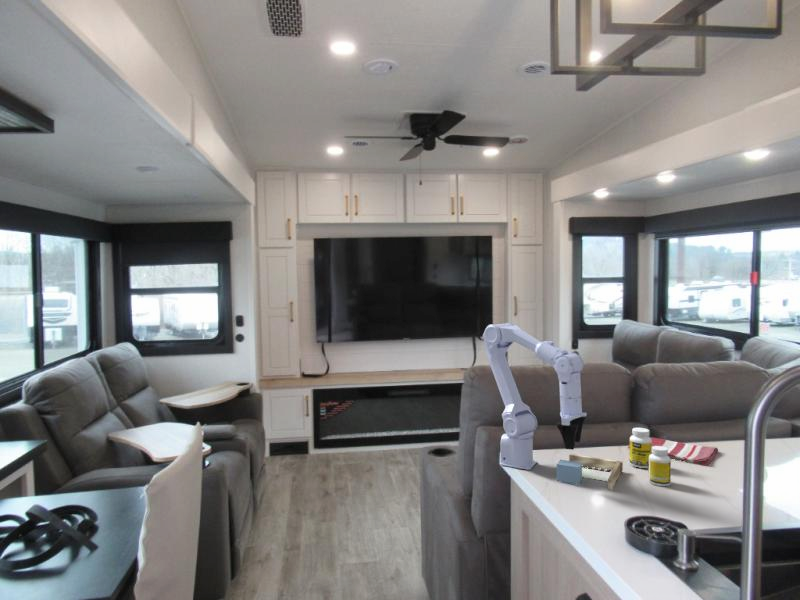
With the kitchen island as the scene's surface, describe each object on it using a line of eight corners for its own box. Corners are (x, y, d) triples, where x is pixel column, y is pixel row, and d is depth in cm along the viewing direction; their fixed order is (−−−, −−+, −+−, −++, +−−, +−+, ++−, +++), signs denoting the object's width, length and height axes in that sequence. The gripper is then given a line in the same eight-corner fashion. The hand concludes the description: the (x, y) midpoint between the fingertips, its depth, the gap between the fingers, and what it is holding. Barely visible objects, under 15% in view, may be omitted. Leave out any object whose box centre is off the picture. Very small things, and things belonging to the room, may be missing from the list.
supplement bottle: (673, 487, 138) (673, 451, 137) (651, 486, 139) (651, 450, 138) (667, 479, 143) (667, 445, 143) (646, 478, 144) (646, 444, 144)
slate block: (556, 481, 143) (556, 463, 143) (560, 476, 147) (560, 459, 147) (578, 485, 140) (578, 467, 140) (582, 480, 144) (581, 463, 144)
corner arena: (556, 480, 143) (556, 470, 143) (570, 463, 157) (570, 453, 157) (613, 491, 136) (613, 480, 136) (622, 471, 149) (622, 461, 149)
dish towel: (708, 468, 152) (708, 459, 152) (626, 452, 168) (626, 444, 168) (718, 453, 165) (718, 445, 165) (641, 440, 180) (641, 432, 180)
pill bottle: (630, 468, 152) (629, 431, 152) (629, 461, 158) (628, 425, 158) (653, 470, 150) (652, 433, 150) (651, 463, 156) (651, 427, 155)
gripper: (579, 402, 135) (582, 454, 135) (590, 392, 147) (592, 439, 147) (552, 401, 138) (555, 451, 138) (565, 391, 151) (567, 437, 151)
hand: (572, 445), depth 143 cm, fingers open, 7 cm apart
